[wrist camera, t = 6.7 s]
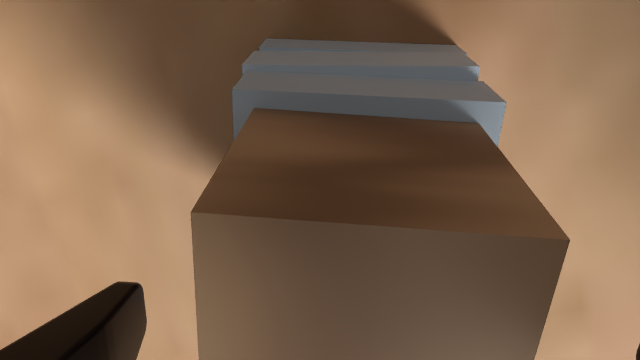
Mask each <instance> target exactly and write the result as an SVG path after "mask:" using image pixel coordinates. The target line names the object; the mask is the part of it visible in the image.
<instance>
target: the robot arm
mask: <svg viewBox="0 0 640 360" xmlns="http://www.w3.org/2000/svg"><path fill="white" fill-rule="evenodd" d="M146 324H147V319H146V310H145V302H144V293H143V288H142V286H141V285H140V284H139V283H136V282H116V283H114V284H112V285H110V286H109V287H107V288H105V289H104V290H102V291H100V292H99V293H97V294H95V295H93V296H92V297H90V298H88V299H87V300H85V301H83V302H81V303H80V304H78V305H76V306H75V307H73V308H71V309H69V310H68V311H66V312H64V313H63V314H61V315H59V316H58V317H56V318H54V319H52V320H51V321H49V322H47V323H46V324H44V325H42V326H40V327H39V328H37V329H35V330H34V331H32V332H30V333H28V334H27V335H25V336H23V337H22V338H20V339H18V340H17V341H15V342H13V343H11V344H10V345H8V346H6V347H5V348H3V349H1V350H0V360H136V359H137V356H138V353H139V350H140V347H141V344H142V341H143V338H144V335H145V331H146ZM636 360H640V344H639V347H638V349H637V353H636Z"/></svg>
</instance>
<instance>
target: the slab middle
mask: <svg viewBox="0 0 640 360" xmlns="http://www.w3.org/2000/svg"><path fill="white" fill-rule="evenodd" d="M479 68H480V66H479V65H477V64H476V63H475V62H474V61H472V60H471V59H470V58H469V57H468V56H466V55H465V54H464V53H463V52H350V51H253V53H252V54H251V55H250V56H249V57H248V58H247V59H246V60H245V61H244V63H243V64H242V76H243V75H244V74H245V73H246V71H247V70H255V71H276V72H297V73H318V74H339V75H360V76H381V77H402V78H423V79H444V80H465V81H478V75H479Z"/></svg>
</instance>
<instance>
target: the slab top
mask: <svg viewBox="0 0 640 360" xmlns="http://www.w3.org/2000/svg"><path fill="white" fill-rule="evenodd" d="M232 107H233V138H234V140H235V138H236V137H237V135H238V133H239V132H240V130H241V128H242V127H243V125H244V123H245V122H246V120H247V119H248V117H249V115H250V114H251V112H252V110H253V109H254V108H264V109H279V110H293V111H308V112H323V113H337V114H352V115H367V116H381V117H396V118H411V119H425V120H440V121H454V122H469V123H479V124H480V125H481V126H482V128H483V129H484V130H485V132H486V133H487V134H488V135H489V137H490V138H491V139H492V141H493V142H494V143H495V144H496V146H497V147H498V143H499V138H500V133H501V128H502V122H503V117H504V112H505V107H506V102H505V101H504V100H503V99H502V98H501V97H500V96H499V95H498V94H496V93H495V92H494V91H493V90H492V89H491V88H490V87H489V86H488V85H487V84H485V83H484V82H483V81H465V80H444V79H423V78H402V77H381V76H360V75H339V74H318V73H297V72H276V71H255V70H247V71H246V73H245V74H244V75H243V76H242V77H241V79H240V80H239V81H238V82H237V83H236V85H235V86H234V87H233V88H232Z"/></svg>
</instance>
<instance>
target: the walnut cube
mask: <svg viewBox="0 0 640 360" xmlns="http://www.w3.org/2000/svg"><path fill="white" fill-rule="evenodd" d="M191 227H192V245H193V262H194V280H195V298H196V316H197V334H198V352H199V360H534V358H535V355H536V352H537V348H538V345H539V342H540V338H541V335H542V332H543V328H544V325H545V322H546V318H547V315H548V312H549V308H550V305H551V302H552V298H553V295H554V292H555V288H556V285H557V282H558V278H559V275H560V272H561V269H562V265H563V262H564V259H565V255H566V252H567V249H568V245H569V242H570V239H569V238H568V237H567V235H566V234H565V233H564V231H563V230H562V229H561V228H560V226H559V225H558V224H557V223H556V221H555V220H554V219H553V217H552V216H551V215H550V214H549V212H548V211H547V210H546V208H545V207H544V206H543V205H542V203H541V202H540V201H539V199H538V198H537V197H536V196H535V194H534V193H533V192H532V190H531V189H530V188H529V187H528V185H527V184H526V183H525V182H524V180H523V179H522V178H521V176H520V175H519V174H518V173H517V171H516V170H515V169H514V167H513V166H512V165H511V164H510V162H509V161H508V160H507V158H506V157H505V156H504V155H503V153H502V152H501V151H500V149H499V148H498V147H497V146H496V144H495V143H494V142H493V141H492V139H491V138H490V137H489V135H488V134H487V133H486V132H485V130H484V129H483V128H482V126H481V125H480V124H479V123H469V122H454V121H440V120H425V119H411V118H396V117H381V116H367V115H352V114H337V113H323V112H308V111H293V110H279V109H264V108H254V109H253V110H252V112H251V114H250V115H249V117H248V119H247V120H246V122H245V123H244V125H243V127H242V128H241V130H240V132H239V133H238V135H237V137H236V138H235V140H234V142H233V143H232V145H231V147H230V148H229V150H228V152H227V153H226V155H225V156H224V158H223V160H222V161H221V163H220V165H219V166H218V168H217V170H216V171H215V173H214V175H213V176H212V178H211V180H210V181H209V183H208V185H207V186H206V188H205V189H204V191H203V193H202V194H201V196H200V198H199V199H198V201H197V203H196V204H195V206H194V208H193V209H192V211H191Z"/></svg>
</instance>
